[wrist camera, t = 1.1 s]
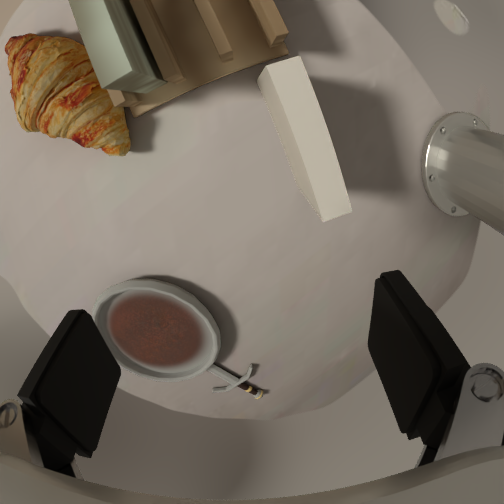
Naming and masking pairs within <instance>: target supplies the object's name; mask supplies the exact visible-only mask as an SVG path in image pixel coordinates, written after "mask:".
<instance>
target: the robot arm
mask: <svg viewBox="0 0 504 504" xmlns="http://www.w3.org/2000/svg"><path fill="white" fill-rule="evenodd" d="M422 178H423V183H424V186H425V190H426V192H427V194H428V196H429V198H430V200H431V201H432V202H433V204H434V205H435V206H436V207H437V208H439V209H440V210H441V211H443V212H445V213H446V214H448V215H451V216H459V217H460V216H465V215H468V214H470V213H471V214H472V215H474V216H475V217H477V218H478V219H480V220H482V221H483V222H485V223H486V224H488V225H489V226H491V227H492V228H494V229H495V230H497V231H498V232H499V233H501V234H502V235H504V135H502V134H498V133H494V132H491V131H489V129H488V128H487V126H486V125H485V124H484V123H483V121H481V120H480V119H479V118H478V117H476V116H474V115H472V114H470V113H465V112H453V113H449V114H447V115H445V116H443V117H442V118H441V119H440V120H438V121H437V122H436V123H435V125H434V126H433V128H432V129H431V130H430V132H429V135H428V137H427V139H426V142H425V145H424V148H423V154H422ZM368 349H369V352H370V354H371V357H372V359H373V362H374V364H375V367H376V369H377V371H378V374H379V376H380V379H381V381H382V384H383V386H384V389H385V392H386V394H387V396H388V399H389V402H390V404H391V407H392V410H393V413H394V415H395V418H396V421H397V423H398V426H399V429H400V431H401V433H406V434H407V437H408V439H409V440H411V439H414V438H417V437H421V439H422V442H423V444H424V448H423V450H422V452H421V455H420V457H419V459H418V461H417V464H416V466H415V468H414V469H411V470H408V471H405V472H402V473H398V474H395V475H392V476H389V477H385V478H382V479H378V480H374V481H370V482H366V483H362V484H358V485H354V486H350V487H345V488H340V489H336V490H330V491H325V492H319V493H312V494H305V495H298V496H290V497H280V498H267V499H251V500H250V499H249V500H206V499H188V498H176V497H166V496H159V495H151V494H144V493H138V492H132V491H127V490H122V489H117V488H112V487H108V486H103V485H99V484H95V483H91V482H88V481H84V479H83V477H82V474H81V472H80V470H79V467H78V465H77V463H76V460H75V458H74V455H75V453H77V454H78V455H79V456H83V457H87V458H91V456H92V453H93V451H95V450H96V448H97V445H98V442H99V439H100V435H101V432H102V429H103V426H104V423H105V419H106V416H107V413H108V410H109V407H110V404H111V401H112V398H113V396H114V393H115V390H116V387H117V384H118V381H119V379H120V376H121V369H120V366H119V364H118V363H117V361H116V359H115V358H114V356H113V354H112V353H111V351H110V349H109V348H108V346H107V344H106V342H105V340H104V339H103V337H102V335H101V333H100V331H99V330H98V328H97V326H96V324H95V322H94V320H93V318H92V316H91V315H90V314H88V313H87V312H86V311H85V310H83V309H81V310H70V311H69V312H68V313H67V314H66V316H65V317H64V318H63V320H62V321H61V323H60V324H59V326H58V327H57V329H56V331H55V332H54V334H53V335H52V337H51V338H50V340H49V341H48V343H47V345H46V346H45V348H44V349H43V351H42V353H41V354H40V356H39V358H38V359H37V361H36V363H35V364H34V366H33V368H32V370H31V371H30V373H29V375H28V377H27V378H26V380H25V382H24V384H23V386H22V388H21V389H20V391H19V393H18V395H17V396H18V397H19V398H20V399H21V400H22V401H23V404H22V405H21V404H20V403H19V402H18V401H17V400H15V399H8V400H6V401H4V402H2V403H1V404H0V504H504V372H503V371H502V370H501V369H500V368H499V367H497V366H495V365H493V364H489V363H480V364H476V365H474V366H473V367H470V365H469V364H468V362H467V361H466V359H465V357H464V356H463V354H462V353H461V351H460V350H459V348H458V347H457V345H456V344H455V342H454V341H453V339H452V338H451V336H450V335H449V333H448V332H447V330H446V329H445V328H444V326H443V325H442V323H441V322H440V321H439V319H438V318H437V316H436V315H435V314H434V312H433V311H432V310H431V309H430V308H429V307H428V306H427V305H426V304H425V302H424V301H423V300H422V298H421V297H420V296H419V294H418V293H417V292H416V290H415V289H414V288H413V286H412V285H411V284H410V283H409V281H408V280H407V279H406V277H405V276H404V275H403V274H402V272H401V271H400V270H395V271H389V272H384V273H381V275H380V278H377V279H376V280H375V288H374V298H373V307H372V315H371V323H370V330H369V337H368Z"/></svg>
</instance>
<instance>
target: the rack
mask: <svg viewBox="0 0 504 504" xmlns="http://www.w3.org/2000/svg"><path fill="white" fill-rule="evenodd" d="M69 3H70V6H71V9H72V12H73V15H74V18H75V20H76V23H77V26H78V29H79V32H80V34H81V37H82V40H83V42H84V45H85V48H86V50H87V53H88V56H89V58H90V61H91V63H92V66H93V68H94V71H95V73H96V76H97V78H98V80H99V83H100V85H101V88H102V89H107V91H108V93H109V95H110V98H111V100H112V102H113V105H114V107H129V108H130V110H131V113H132V115H133V117H134V118H136V117H139V116H141V115H142V114H144V113H146V112H148V111H150V110H152V109H154V108H156V107H158V106H160V105H162V104H164V103H166V102H168V101H170V100H172V99H174V98H176V97H178V96H180V95H182V94H184V93H186V92H189V91H191V90H193V89H195V88H198V87H200V86H202V85H205V84H207V83H209V82H212V81H214V80H217V79H219V78H222V77H224V76H227V75H229V74H232V73H234V72H237V71H240V70H243V69H245V68H248V67H251V66H254V65H257V64H260V63H263V62H266V61H269V60H272V59H276V58H279V57H282V56H286V55H288V54H289V52H288V50H287V47H286V45H285V43H284V39H285V38H286V36H287V35H288V33H289V32H288V30H287V28H286V25H285V23H284V21H283V19H282V17H281V15H280V13H279V11H278V9H277V7H276V5H275V3H274V1H273V0H69Z"/></svg>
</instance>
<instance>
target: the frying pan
mask: <svg viewBox="0 0 504 504" xmlns="http://www.w3.org/2000/svg"><path fill="white" fill-rule="evenodd" d="M92 318H93V320H94V322H95V324H96V326H97V328H98V330H99V331H100V333H101V335H102V337H103V339H104V340H105V342H106V344H107V346H108V348H109V349H110V351H111V353H112V354H113V356H114V358H115V359H116V361H117V363H118V364H119V366H121V367H122V368H123V369H125V370H127V371H129V372H131V373H133V374H135V375H137V376H139V377H143V378H147V379H150V380H154V381H163V382H177V381H183V380H189V379H192V378H194V377H196V376H198V375H200V374H202V373H204V372H205V371H206V370H207V371H209V372H210V373H212V374H214V375H216V376H218V377H219V378H221V379H223V380H225V381H226V382H228V383H230V385H229V386H227V387H220V388H213V392H212V393H217V392H228V391H229V390H231V389H233V388H234V387H236V386H238V387H240V388H242V389H244V390H245V391H246V392H249V393H251V394H253V395H254V397H255V399H260V398H262V397H263V391H262V390H260V389H257V390H256V389H254V388H252V387H251V386H248V385H247V384H245V383H243V382H244V381H246V380H247V379H249V378H250V375H251V372H252V369H253V365H252V364H251V365H250V367H249V370H248V372H247V374H246V375H244V376H243V377H241V378H240V379H238V378H237V377H235V376H233V375H231V374H229V373H228V372H226V371H224V370H223V369H221V368H219V367H217V366H216V365H214V364H213V363H214V362H215V361H216V359H217V356H218V354H219V351H220V348H221V338H220V330H219V328H218V326H217V324H216V322H215V320H214V319H213V317H212V315H211V313H210V312H209V311H208V310H207V308H206V307H205V306H204V305H203V304H202V303H201V302H200V301H199V300H198V299H197V298H196V297H195V296H194V295H193V294H191V293H189V292H187V291H186V290H184V289H182V288H180V287H179V286H177V285H175V284H172V283H168V282H164V281H161V280H157V279H132V280H129V281H126V282H122V283H119V284H116V285H113V286H110V287H109V288H108V289H107V290H106V291H105V292H103V293H102V294H101V295H100V296H99V297H98V298H97V301H96V303H95V305H94V308H93V310H92Z"/></svg>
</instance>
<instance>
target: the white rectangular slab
mask: <svg viewBox="0 0 504 504" xmlns="http://www.w3.org/2000/svg"><path fill="white" fill-rule="evenodd" d="M257 84H258V86H259V88H260V91H261V93H262V96H263V98H264V100H265V103H266V105H267V108H268V110H269V113H270V115H271V118H272V120H273V123H274V125H275V128H276V130H277V133H278V135H279V138H280V141H281V143H282V146H283V149H284V151H285V154H286V157H287V159H288V162H289V165H290V167H291V170H292V173H293V176H294V178H295V181H296V184H297V187H298V188H299V190H300V191H301V192H302V194H303V195H304V196H305V198H306V199H307V200H308V202H309V203H310V205H311V206H312V207H313V209H314V210H315V211H316V213H317V214H318V216H319V217H320V218H321V220H322V221H323V222H326V221H328V220H331V219H334V218H336V217H339V216H342V215H344V214H347V213H350V212H352V209H351V205H350V201H349V197H348V194H347V190H346V187H345V183H344V179H343V176H342V173H341V169H340V166H339V163H338V159H337V156H336V153H335V150H334V147H333V143H332V140H331V137H330V134H329V131H328V128H327V125H326V123H325V120H324V117H323V114H322V111H321V108H320V106H319V103H318V100H317V98H316V95H315V92H314V90H313V87H312V85H311V82H310V79H309V77H308V74H307V72H306V70H305V67H304V65H303V62H302V60H301V58H300V56H296V57H293V58H289V59H286V60H283V61H279V62H276V63H273V64H270V65H267V66H265V68H264V69H263V71H262V73H261V74H260V76H259V77H258V79H257Z"/></svg>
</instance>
